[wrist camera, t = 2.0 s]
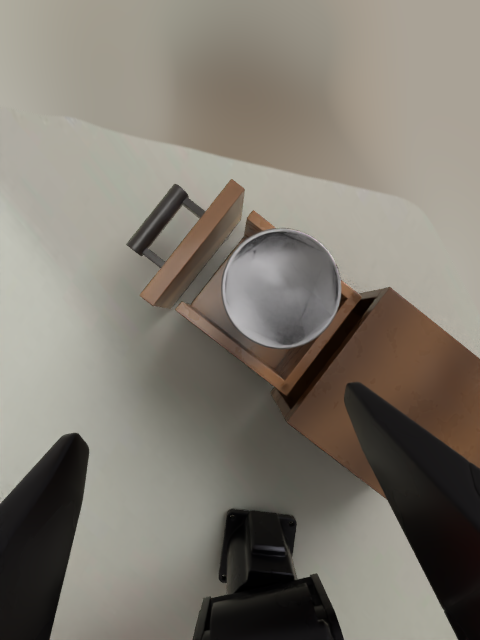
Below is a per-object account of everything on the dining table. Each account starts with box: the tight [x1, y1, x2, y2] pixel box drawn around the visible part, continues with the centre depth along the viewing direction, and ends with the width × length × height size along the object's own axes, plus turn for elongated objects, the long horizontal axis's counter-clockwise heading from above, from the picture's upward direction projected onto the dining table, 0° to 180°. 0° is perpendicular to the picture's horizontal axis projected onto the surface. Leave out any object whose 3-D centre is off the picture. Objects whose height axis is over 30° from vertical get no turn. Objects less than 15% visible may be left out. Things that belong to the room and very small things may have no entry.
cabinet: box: [270, 287, 480, 499], centre depth 23 cm, size 14×12×8 cm
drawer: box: [126, 179, 362, 396], centre depth 22 cm, size 16×10×6 cm, turn 52°
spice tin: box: [221, 228, 341, 349], centre depth 19 cm, size 6×6×11 cm
